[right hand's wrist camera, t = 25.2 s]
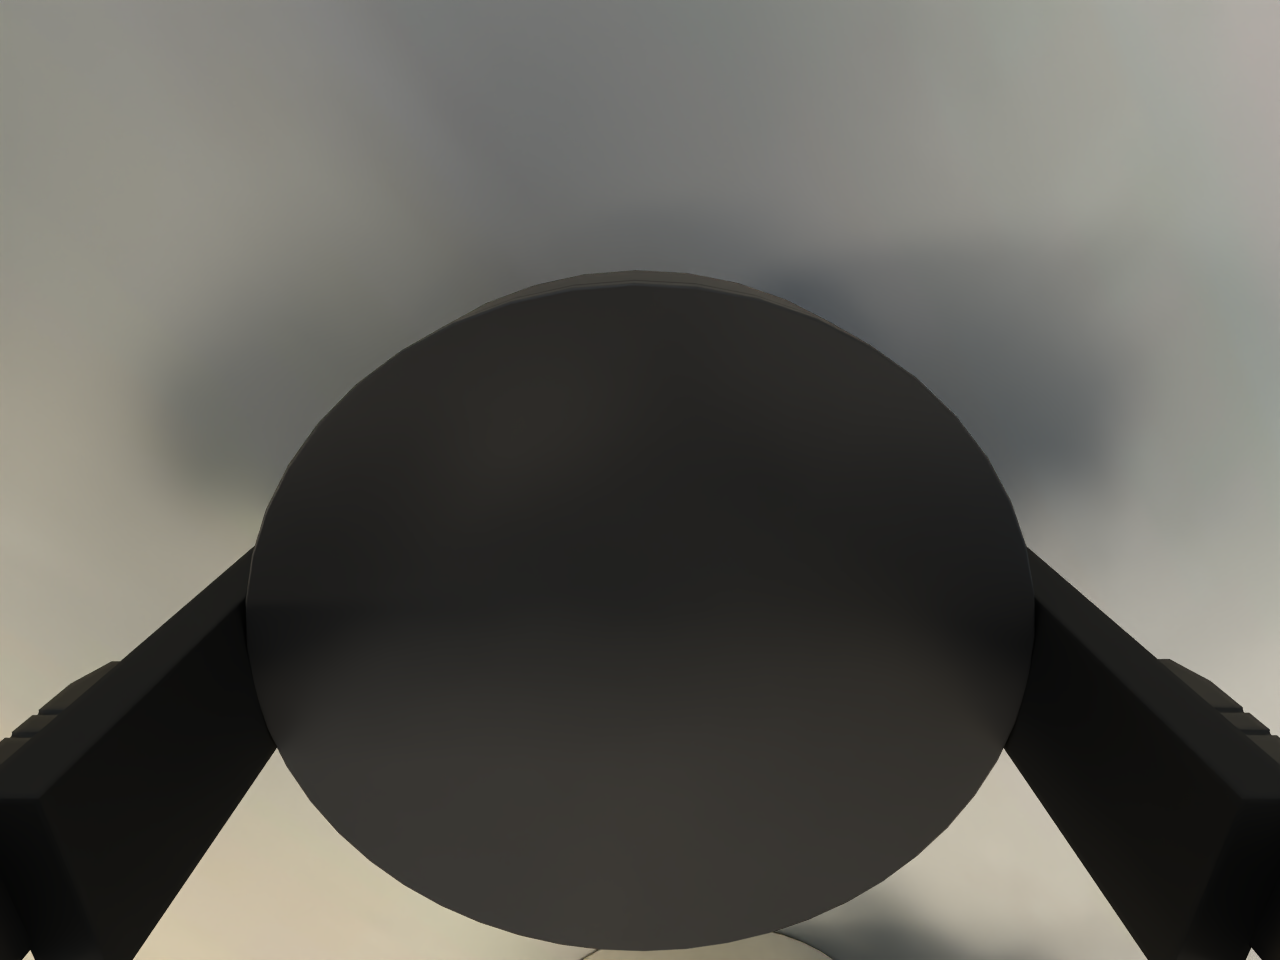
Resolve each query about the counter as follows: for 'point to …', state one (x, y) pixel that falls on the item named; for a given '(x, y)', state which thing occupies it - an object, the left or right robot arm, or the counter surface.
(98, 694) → the right robot arm
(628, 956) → the jar
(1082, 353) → the counter surface
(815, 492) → the lid
